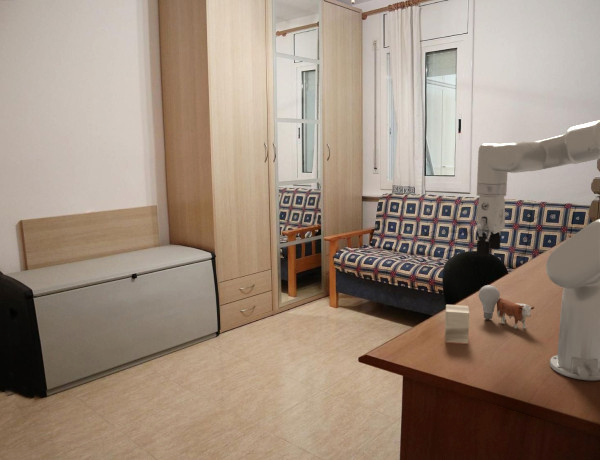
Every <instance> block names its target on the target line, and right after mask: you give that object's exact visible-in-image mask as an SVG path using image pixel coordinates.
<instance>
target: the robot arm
mask: <svg viewBox="0 0 600 460" xmlns="http://www.w3.org/2000/svg"><path fill="white" fill-rule="evenodd" d="M477 153H478V154H477V155H478V157H477V175H476V176H477V178H476V182H477V183H476V196H479V197H478V204H477V214H476V215H477V216H476V230H477V233H476V235H477V236H476V255H477V256H481V257H490V253H491V252H490V250H500V249H501V238H502V235H501V234H502V231H503V230H504V229H505V226H506V201H505V197H506V196H507V189H508V173H511V174H516V173H517V174H518V173H525V172H535V171H541V170H546V169H550V168H551V169H552V168H557V167H562V166H566V165H573V164H574V165H576V164H581V163H585V162H586V163H587V162H592V161H597V160H600V119H599V120H595V121H591V122H586V123H583V124H578V125H574V126H571V127H569V128H568V129H567V131H566V133H563V134H562V135H557V136H554V137H550V138H547V139H542V140H537V141H522V142H509V143H501V142H500V143H499V142H497V143H482V144H481V145H479V147H478V152H477ZM545 269H546V275H547V276H548V278H549V279H550V281H551V282H552V283H553V284H555V285H556V286H558V287H560V288H563V291H562V295H561V305H560V316H559V317H560V318H559V320H560V321H559V329H558V344H557V353H556V355H554V356H551V358H550V359H549V366H550V368H552V370H554V371H555V372H557V373H559V374H560V375H562V376H565V377H568V378H572V379H576V380H581V381H600V218H598V219H596V220H594V221H592V222H590V223H589V224H587V225H586V226H584V227H582V229H580V230H578V231H577V233H575V234H574V235H572V236H571V237H569V238H568V239H567V240H566V241H564V242H563V243H562V244H560V245H559V246H558V247H556V248H555V249H554V250H553V251H552V252H551V253H550V254H549V256H548V258H547V260H546V263H545Z"/></svg>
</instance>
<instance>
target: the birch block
mask: <svg viewBox="0 0 600 460" xmlns="http://www.w3.org/2000/svg"><path fill="white" fill-rule="evenodd" d="M444 323H445V325H444V343H445V344H446V343H449V344H457V345H458V344H459V345H469V328H470V327H469V326H470V308H469V305H458V304H456V305H455V304H446V305H445V322H444Z"/></svg>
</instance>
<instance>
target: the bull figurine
mask: <svg viewBox="0 0 600 460" xmlns="http://www.w3.org/2000/svg"><path fill="white" fill-rule="evenodd" d="M534 309H535V306H531V305H529V304H525V303H517V302H513V301H510V300H508V299H504V298H501V297H500V298H499V300H498V302H497V303H496V314H497V317H498V319H500V323H501V324H502V325H506V324H507V323H506V321H507V318H506V316H507V317H509V319H512V318H514V325H513V328H514V329H515V330H517V329H518V323H519V322H521V323H522V328H523V329H524V330H527V329H528V327H527V326H526V320H527V318H530V317H532V316H531V315H532V314H531V310H534Z"/></svg>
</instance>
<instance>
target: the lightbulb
mask: <svg viewBox="0 0 600 460" xmlns="http://www.w3.org/2000/svg"><path fill="white" fill-rule="evenodd" d="M500 296H501V294H500V291H499V289H498V288H497V287H496V286H494V285H491V284H487V285H484V286H482V287H480V289H479V292H478V299H479V301H480V302H481V305H482V311H483V318H484V319H485V320H486V321H490V320H491V319H493V317H494V315H493V314H494V311H495V307H496V306H497V302H498V300H499V299H500V298H501V297H500Z"/></svg>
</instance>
